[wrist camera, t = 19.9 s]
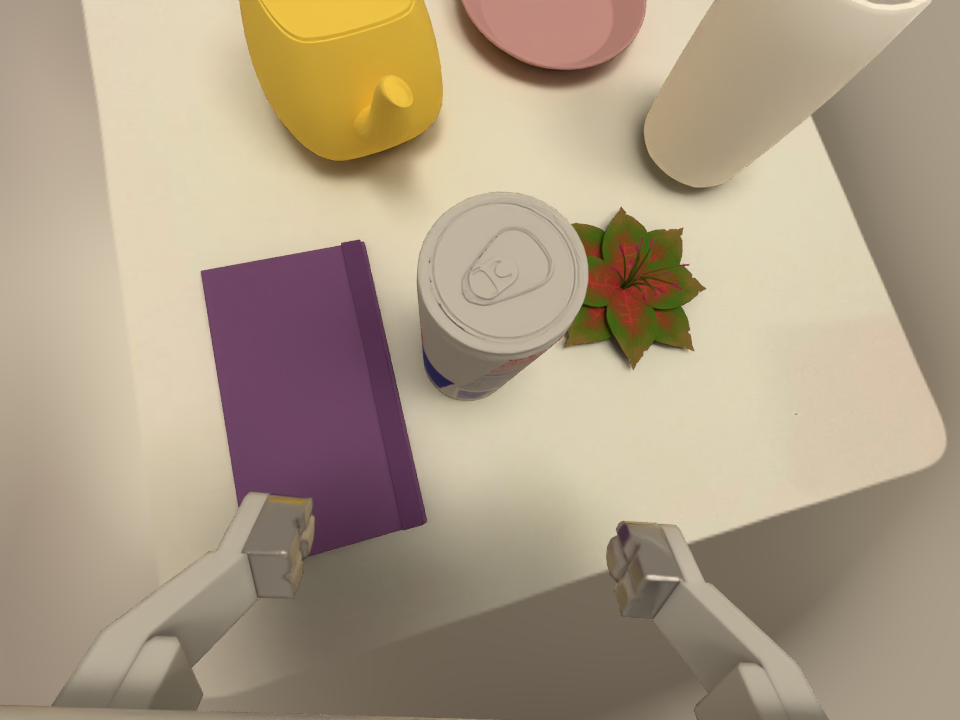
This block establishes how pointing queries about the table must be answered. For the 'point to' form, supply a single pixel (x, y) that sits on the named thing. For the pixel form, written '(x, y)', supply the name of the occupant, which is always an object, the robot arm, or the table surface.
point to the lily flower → (634, 287)
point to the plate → (559, 29)
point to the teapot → (346, 71)
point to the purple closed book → (313, 391)
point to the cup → (761, 78)
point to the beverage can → (496, 290)
